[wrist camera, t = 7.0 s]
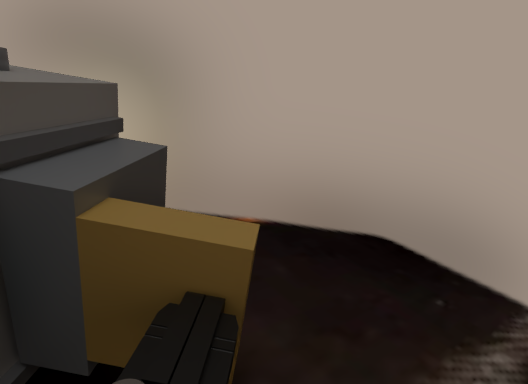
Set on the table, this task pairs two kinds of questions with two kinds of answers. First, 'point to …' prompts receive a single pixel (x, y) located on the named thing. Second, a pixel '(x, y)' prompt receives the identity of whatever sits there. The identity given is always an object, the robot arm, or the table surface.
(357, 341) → the table surface
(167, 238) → the door
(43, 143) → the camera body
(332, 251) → the table surface
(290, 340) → the table surface
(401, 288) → the table surface
